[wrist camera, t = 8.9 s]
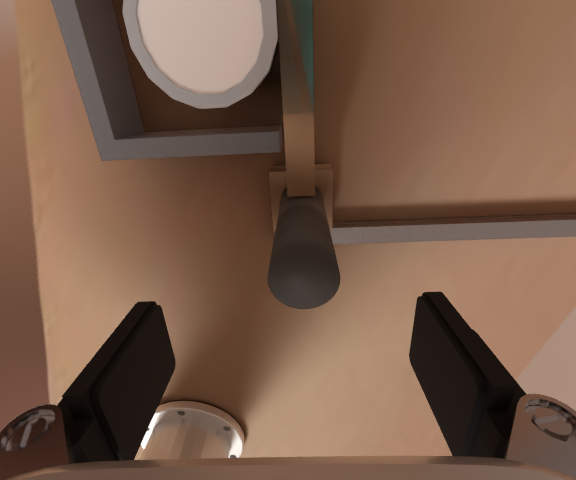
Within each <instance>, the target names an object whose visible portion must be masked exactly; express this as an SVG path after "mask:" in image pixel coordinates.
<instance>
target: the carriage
mask: <svg viewBox="0 0 576 480" xmlns="http://www.w3.org/2000/svg"><path fill="white" fill-rule="evenodd" d="M277 14H278V33H279V51H280V69H281V87H282V105H283V124H284V142H285V160H286V165H284V166H271V167H270V170H269V172H268V174H269V186H270V199H271V211H272V223H273V231H275V236H274V242H273V248H272V254H271V260H270V266H269V272H268V285H269V288H270V290H271V292H272V294H273V295H274V296H275V297H276V298H277V299H278V300H279V301H280V302H282V303H283V304H285V305H287V306H290V307H293V308H298V309H310V308H315V307H318V306H321V305H323V304H324V303H326V302H328V301H329V300H330V299H331V298H332V297H333V296H334V295H335V293H336V292H337V290H338V287H339V284H340V273H339V268H338V264H337V259H336V255H335V251H334V246H333V242H332V237H331V233H330V229H333V168H332V166H331V163H328V164H315V144H314V72H313V0H277Z"/></svg>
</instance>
